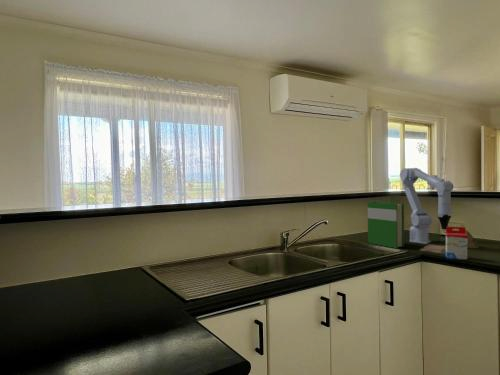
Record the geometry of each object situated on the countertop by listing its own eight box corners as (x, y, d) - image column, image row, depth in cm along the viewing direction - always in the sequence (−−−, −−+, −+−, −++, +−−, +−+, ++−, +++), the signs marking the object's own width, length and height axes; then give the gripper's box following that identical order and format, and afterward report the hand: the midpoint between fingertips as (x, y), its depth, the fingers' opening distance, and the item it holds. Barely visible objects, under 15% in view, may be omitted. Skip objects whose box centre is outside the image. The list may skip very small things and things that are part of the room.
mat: (418, 250, 185) (418, 249, 185) (426, 246, 194) (426, 246, 194) (445, 254, 176) (445, 253, 176) (452, 249, 185) (452, 249, 185)
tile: (429, 247, 190) (424, 250, 184) (429, 244, 190) (424, 247, 184) (445, 249, 184) (441, 252, 178) (445, 246, 184) (441, 249, 178)
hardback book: (404, 247, 194) (404, 203, 193) (396, 249, 189) (396, 204, 188) (375, 242, 208) (375, 201, 207) (368, 244, 204) (367, 202, 202)
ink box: (446, 258, 167) (446, 227, 166) (445, 256, 172) (445, 226, 171) (467, 260, 164) (467, 228, 163) (465, 257, 169) (465, 227, 168)
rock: (483, 243, 188) (464, 237, 197) (480, 231, 184) (461, 226, 193) (472, 257, 185) (453, 251, 193) (469, 246, 181) (450, 240, 190)
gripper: (448, 205, 181) (448, 231, 182) (456, 203, 192) (456, 228, 192) (433, 204, 186) (433, 230, 187) (442, 202, 197) (442, 226, 197)
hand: (444, 229), depth 190 cm, fingers closed
